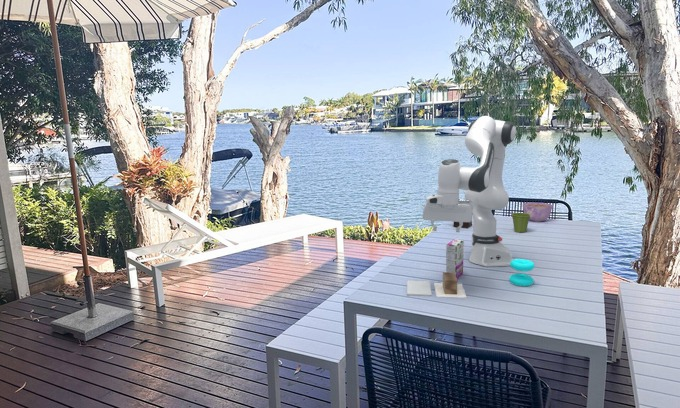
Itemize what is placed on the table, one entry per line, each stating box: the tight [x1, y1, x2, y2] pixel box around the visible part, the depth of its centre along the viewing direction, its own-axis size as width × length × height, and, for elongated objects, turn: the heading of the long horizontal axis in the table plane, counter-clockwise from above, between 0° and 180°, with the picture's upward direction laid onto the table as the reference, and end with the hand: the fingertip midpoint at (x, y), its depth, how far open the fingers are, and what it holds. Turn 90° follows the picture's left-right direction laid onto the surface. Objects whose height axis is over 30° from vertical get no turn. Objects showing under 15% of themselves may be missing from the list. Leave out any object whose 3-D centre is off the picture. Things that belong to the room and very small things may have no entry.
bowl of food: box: [522, 201, 554, 223], centre depth 317 cm, size 20×20×12 cm
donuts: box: [508, 258, 536, 287], centre depth 194 cm, size 10×10×10 cm
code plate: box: [433, 282, 467, 298], centre depth 188 cm, size 12×16×1 cm
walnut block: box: [442, 271, 458, 294], centre depth 188 cm, size 5×10×6 cm, turn 172°
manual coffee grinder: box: [452, 220, 473, 229], centre depth 302 cm, size 16×11×18 cm
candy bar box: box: [445, 238, 465, 279], centre depth 205 cm, size 11×5×16 cm, turn 148°
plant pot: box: [511, 212, 531, 233], centre depth 286 cm, size 12×12×11 cm
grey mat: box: [406, 280, 433, 297], centre depth 190 cm, size 10×16×1 cm, turn 172°
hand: (446, 231), depth 186 cm, fingers open, 8 cm apart
